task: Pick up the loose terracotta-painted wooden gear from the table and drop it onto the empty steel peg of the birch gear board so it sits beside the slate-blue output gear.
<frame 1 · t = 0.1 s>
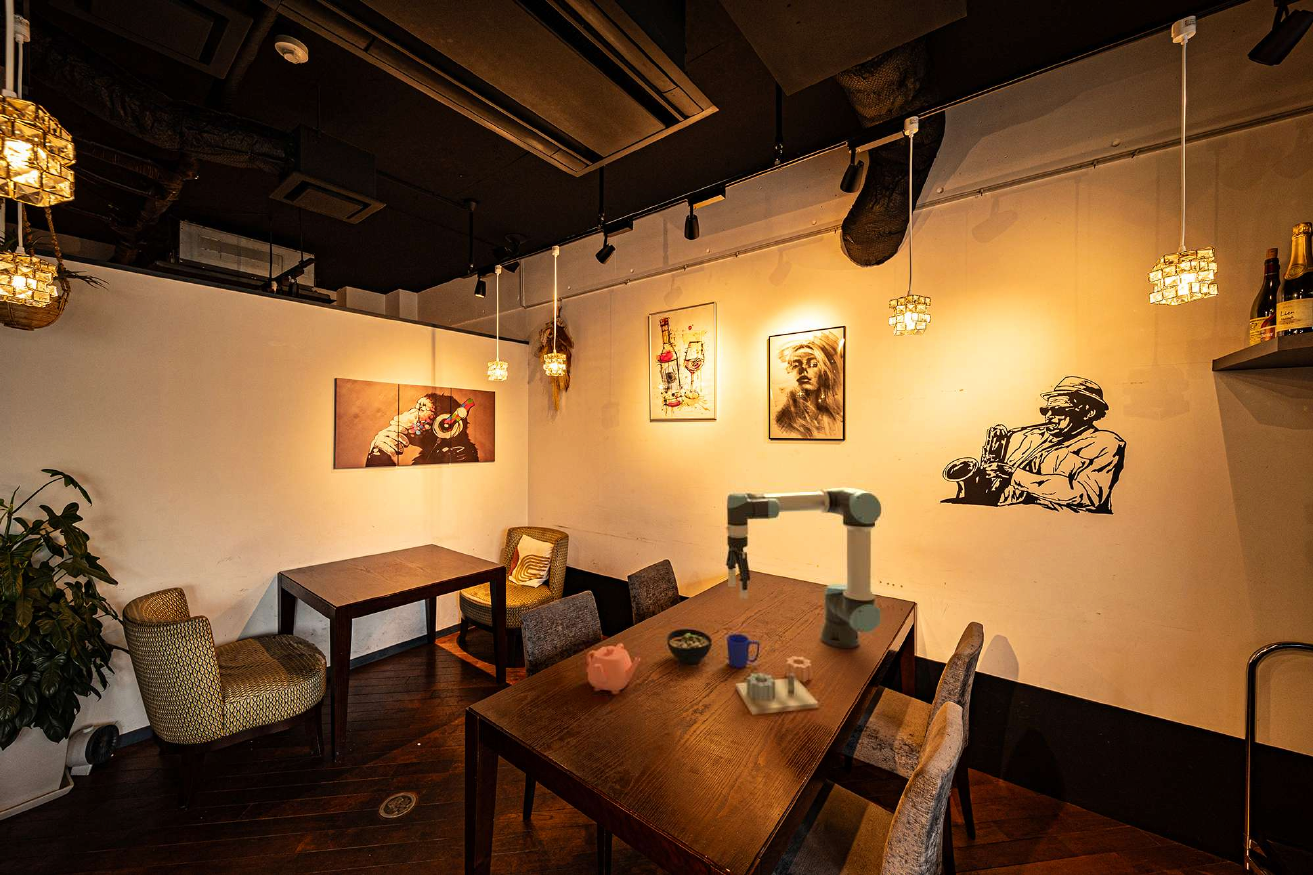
hand: (737, 592, 182), 28 cm above the table, fingers open, 13 cm apart
board: (775, 697, 161), on the table
bowl: (689, 661, 187), on the table
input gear: (798, 675, 175), on the table
output gear: (761, 694, 160), resting on board
teapot: (611, 688, 168), on the table
mug: (743, 665, 183), on the table
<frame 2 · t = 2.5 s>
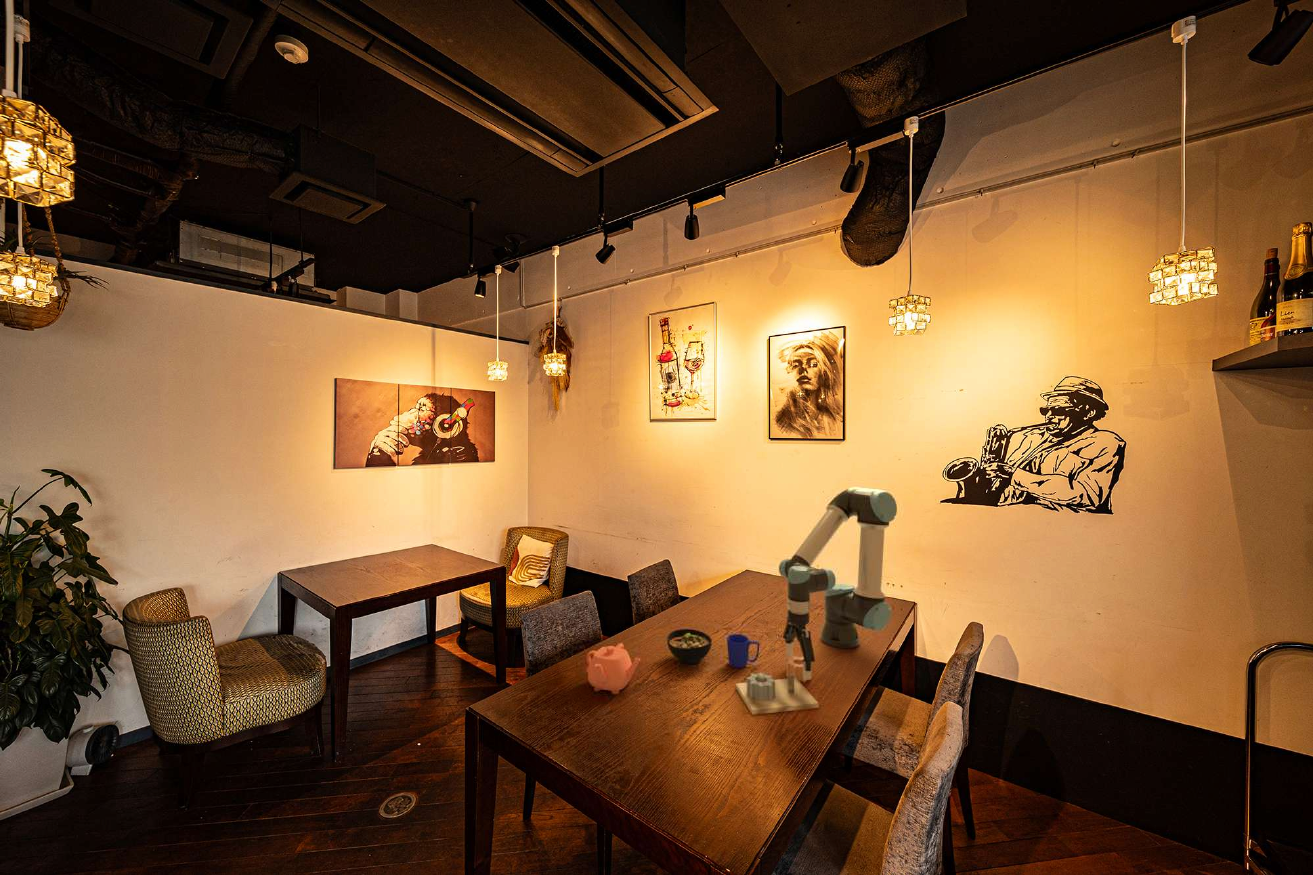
hand: (797, 669, 175), 2 cm above the table, fingers open, 13 cm apart
nothing on the table moved.
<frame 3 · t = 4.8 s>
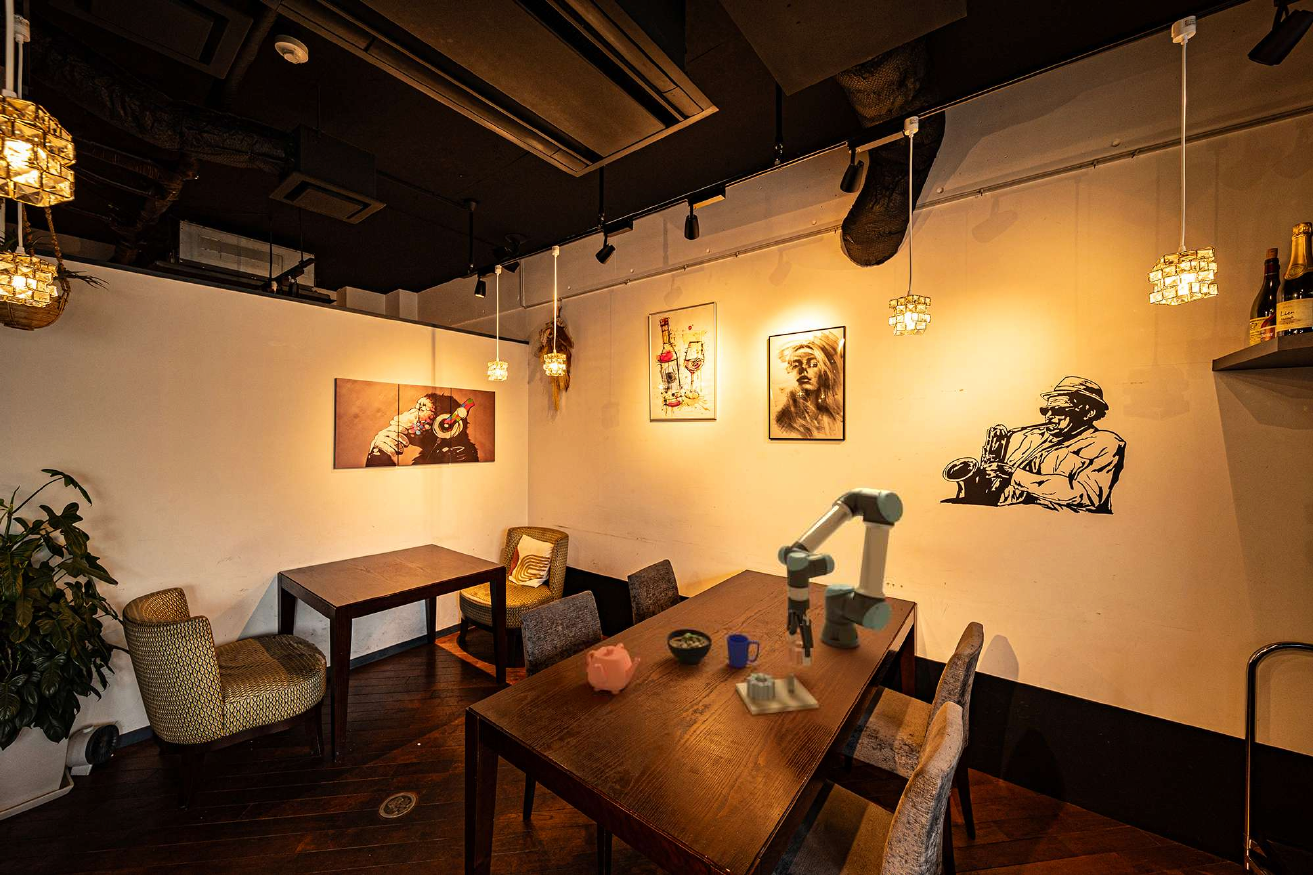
hand: (800, 658, 175), 6 cm above the table, fingers closed on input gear, 9 cm apart
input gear: (800, 659, 175), point 6 cm above the table, touching gripper
everything else where it was.
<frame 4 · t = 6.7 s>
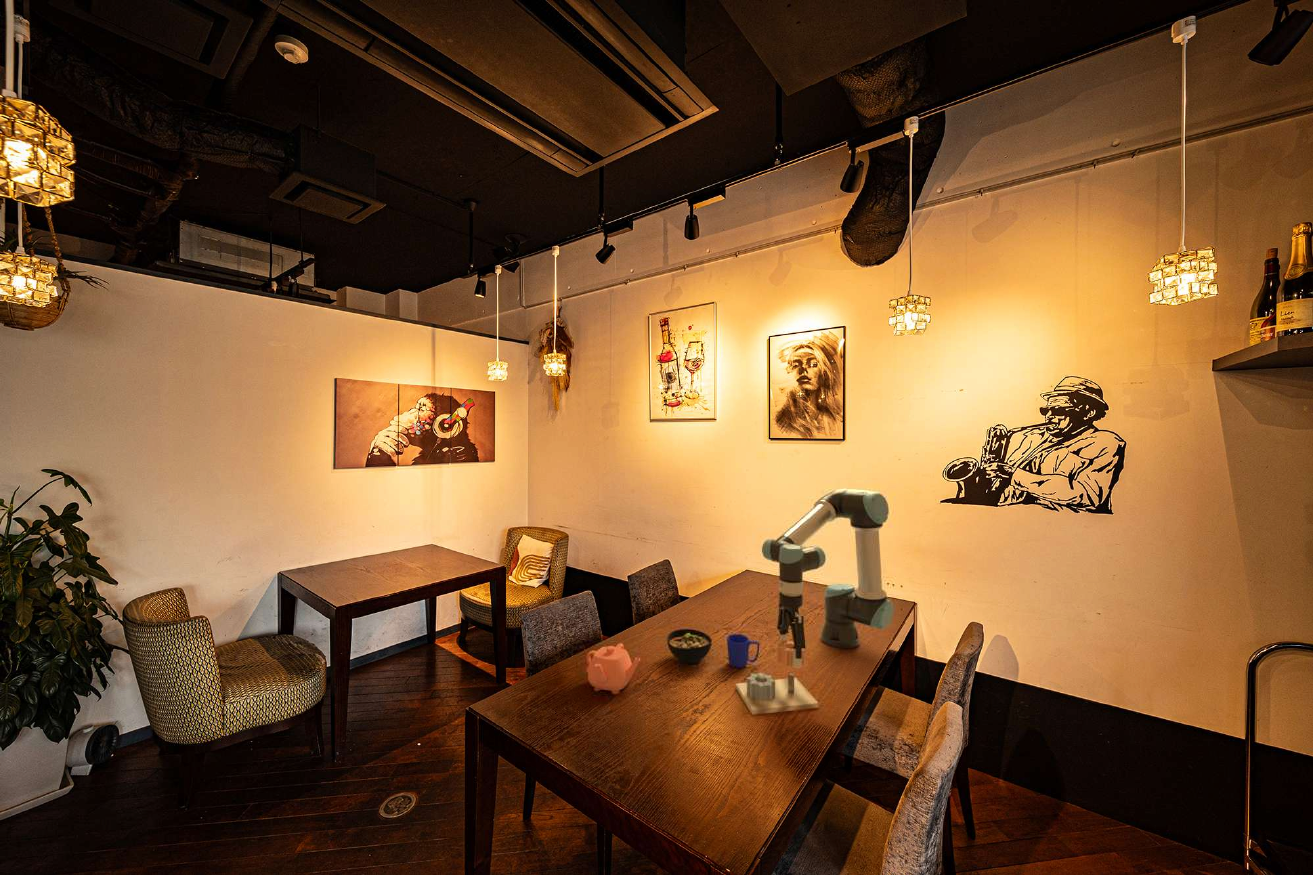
hand: (790, 660, 161), 12 cm above the table, fingers closed on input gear, 9 cm apart
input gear: (790, 661, 161), point 12 cm above the table, touching gripper
everything else where it was.
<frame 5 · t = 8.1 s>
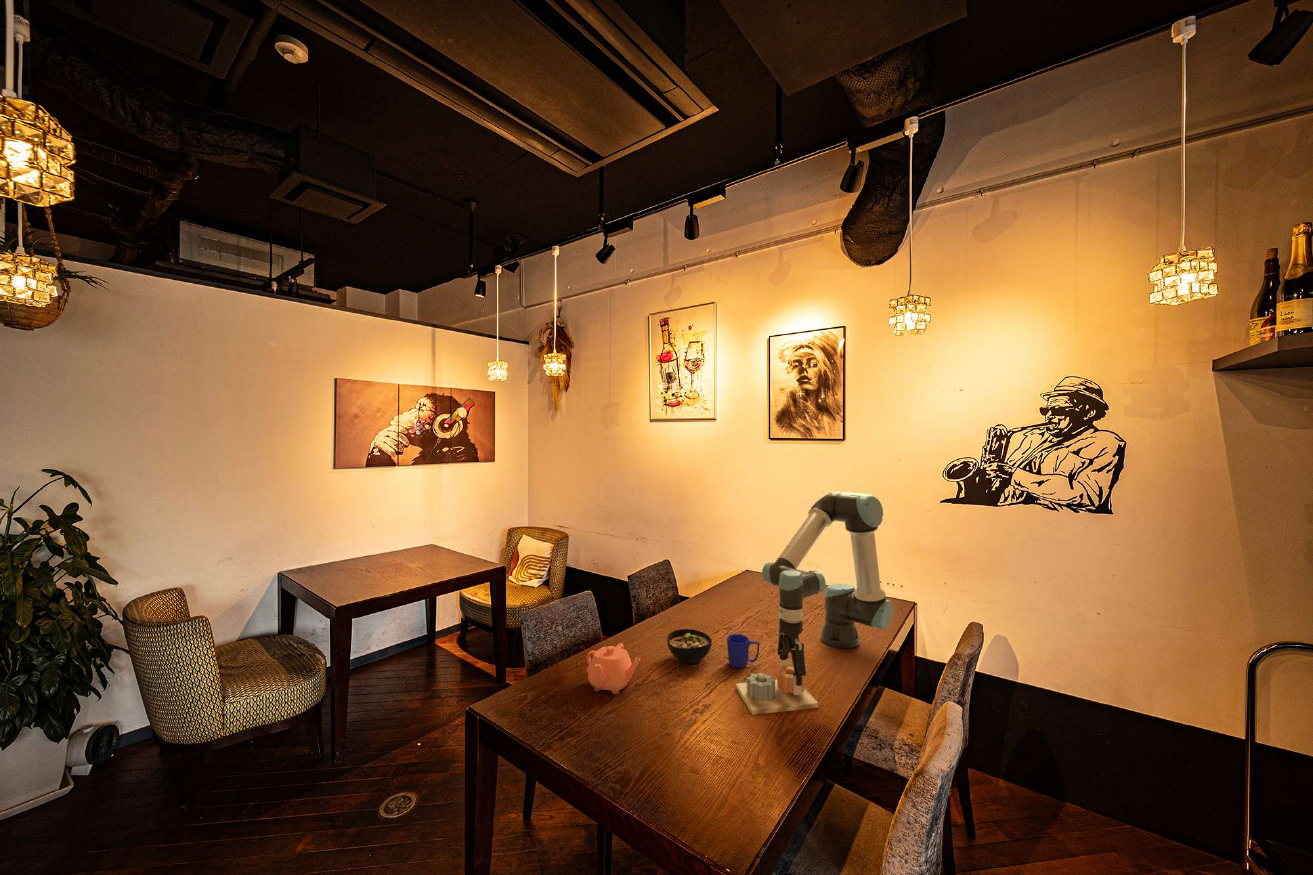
hand: (791, 686, 162), 3 cm above the table, fingers closed on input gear, 9 cm apart
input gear: (790, 686, 162), point 3 cm above the table, touching gripper
everything else where it was.
when the fingers open (3 cm above the table, at t = 9.0 s): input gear drops 1 cm, resting on board.
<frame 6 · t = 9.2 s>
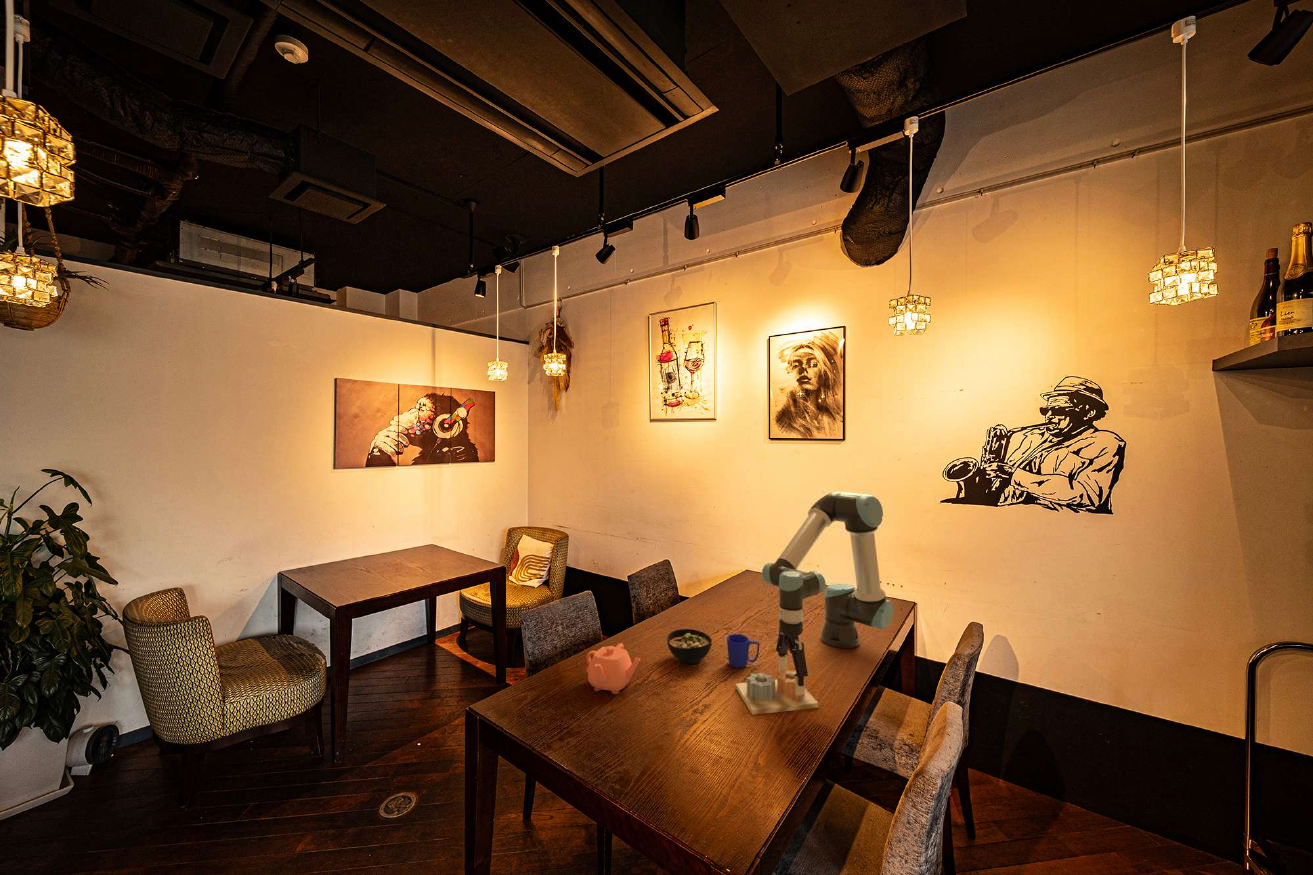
hand: (791, 684, 162), 4 cm above the table, fingers open, 11 cm apart
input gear: (790, 691, 162), point 1 cm above the table, touching board
everything else where it was.
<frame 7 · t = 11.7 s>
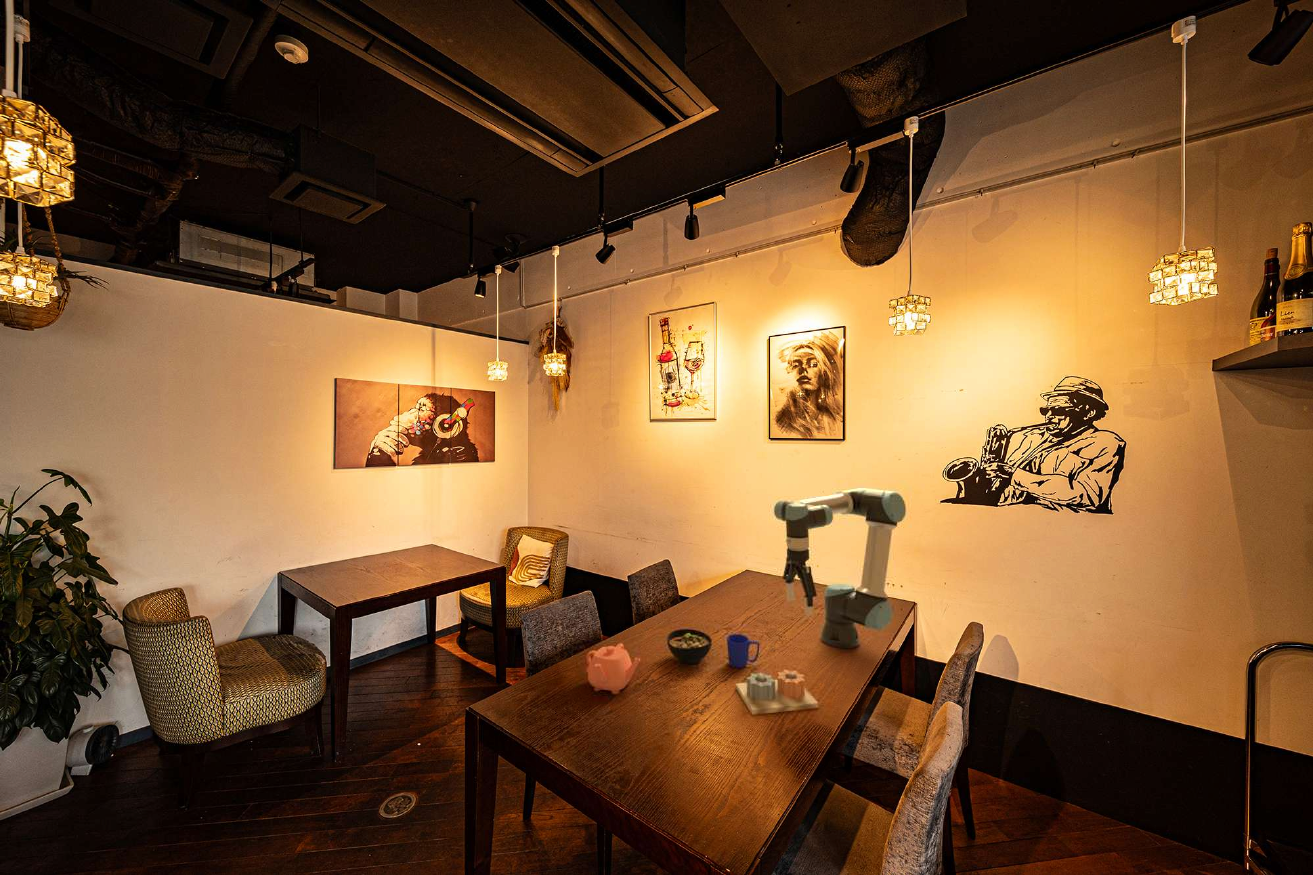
hand: (799, 607, 172), 26 cm above the table, fingers open, 13 cm apart
nothing on the table moved.
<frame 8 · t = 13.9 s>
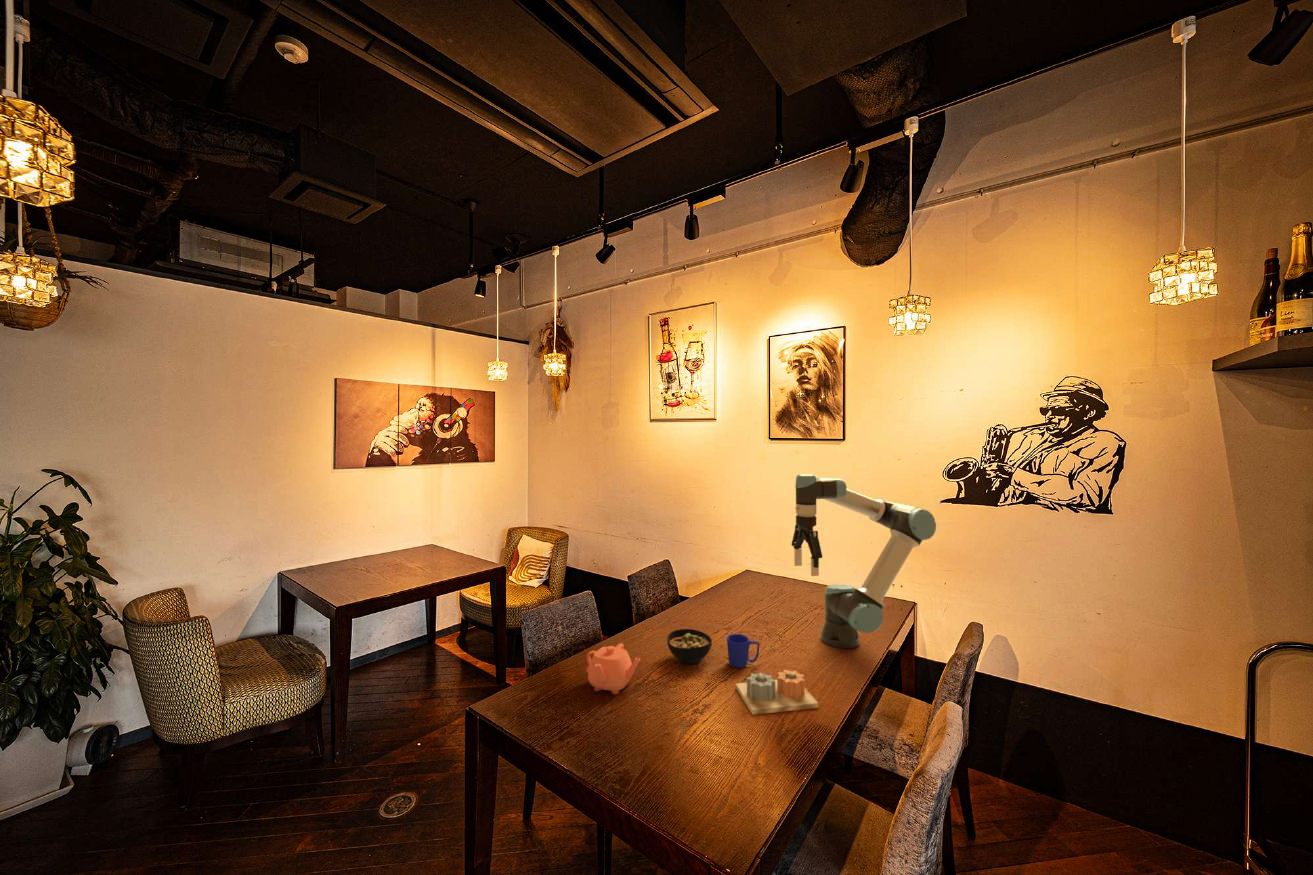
hand: (806, 570, 186), 35 cm above the table, fingers open, 13 cm apart
nothing on the table moved.
at the end: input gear 0.1 cm from the target spot on the board, point 1.5 cm above the board's base; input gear tilted 0°; the gripper is holding nothing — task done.
